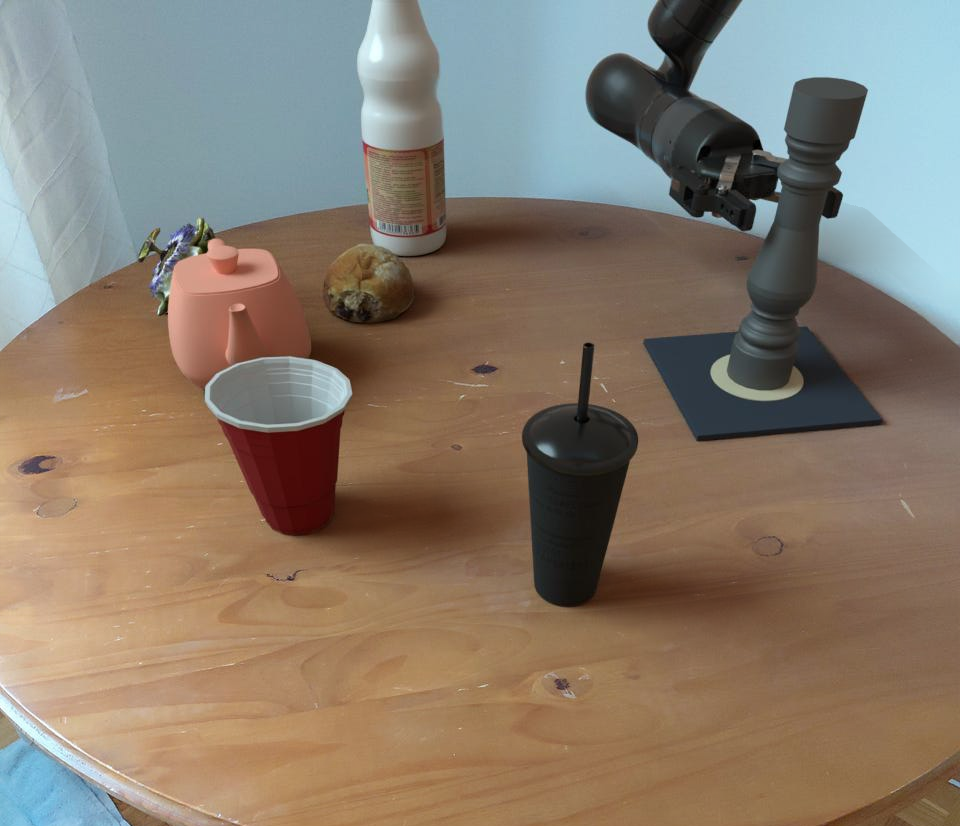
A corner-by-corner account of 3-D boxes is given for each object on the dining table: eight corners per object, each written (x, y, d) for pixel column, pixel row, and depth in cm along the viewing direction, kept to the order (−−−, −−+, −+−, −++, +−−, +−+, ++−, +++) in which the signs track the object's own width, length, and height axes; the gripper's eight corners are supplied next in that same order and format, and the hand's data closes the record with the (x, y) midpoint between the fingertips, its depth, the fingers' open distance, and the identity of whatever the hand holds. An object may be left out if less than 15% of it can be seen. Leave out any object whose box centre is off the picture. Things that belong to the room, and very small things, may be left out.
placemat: (805, 331, 95) (807, 325, 95) (881, 424, 83) (883, 418, 83) (643, 343, 94) (643, 337, 93) (696, 441, 81) (697, 434, 81)
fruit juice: (393, 264, 107) (372, -22, 86) (358, 236, 112) (330, -39, 92) (460, 246, 110) (456, -33, 89) (423, 220, 115) (410, -49, 95)
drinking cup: (543, 632, 65) (562, 389, 50) (499, 568, 70) (504, 329, 55) (634, 602, 67) (676, 361, 52) (585, 542, 72) (612, 305, 57)
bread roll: (422, 339, 101) (442, 266, 98) (357, 332, 94) (375, 253, 90) (365, 310, 106) (381, 240, 103) (298, 301, 98) (313, 225, 95)
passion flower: (183, 357, 102) (138, 251, 99) (272, 326, 103) (230, 220, 100) (165, 347, 91) (114, 227, 88) (265, 312, 92) (218, 192, 89)
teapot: (192, 441, 82) (157, 315, 73) (171, 338, 94) (139, 221, 86) (335, 415, 84) (317, 291, 76) (296, 318, 97) (277, 203, 88)
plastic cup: (393, 512, 74) (381, 384, 66) (289, 574, 69) (261, 444, 60) (313, 458, 80) (292, 333, 71) (210, 512, 74) (174, 385, 66)
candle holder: (791, 393, 86) (876, 102, 67) (726, 387, 86) (792, 97, 68) (788, 361, 90) (867, 78, 72) (726, 355, 91) (788, 74, 72)
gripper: (643, 115, 83) (730, 177, 73) (776, 99, 86) (878, 157, 76) (633, 198, 89) (713, 267, 78) (759, 181, 92) (851, 245, 81)
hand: (794, 213), depth 77 cm, fingers open, 8 cm apart
